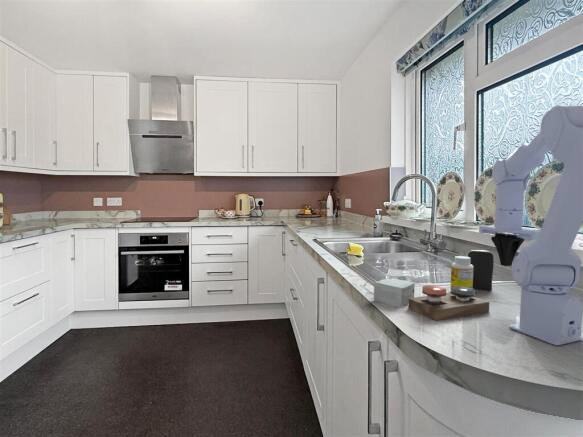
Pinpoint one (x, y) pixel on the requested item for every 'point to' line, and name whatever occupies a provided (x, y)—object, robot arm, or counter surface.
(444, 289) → the copper knob
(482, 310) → the walnut block
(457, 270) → the supplement bottle
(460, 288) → the grey metal knob
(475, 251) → the battery charger
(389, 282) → the small box
